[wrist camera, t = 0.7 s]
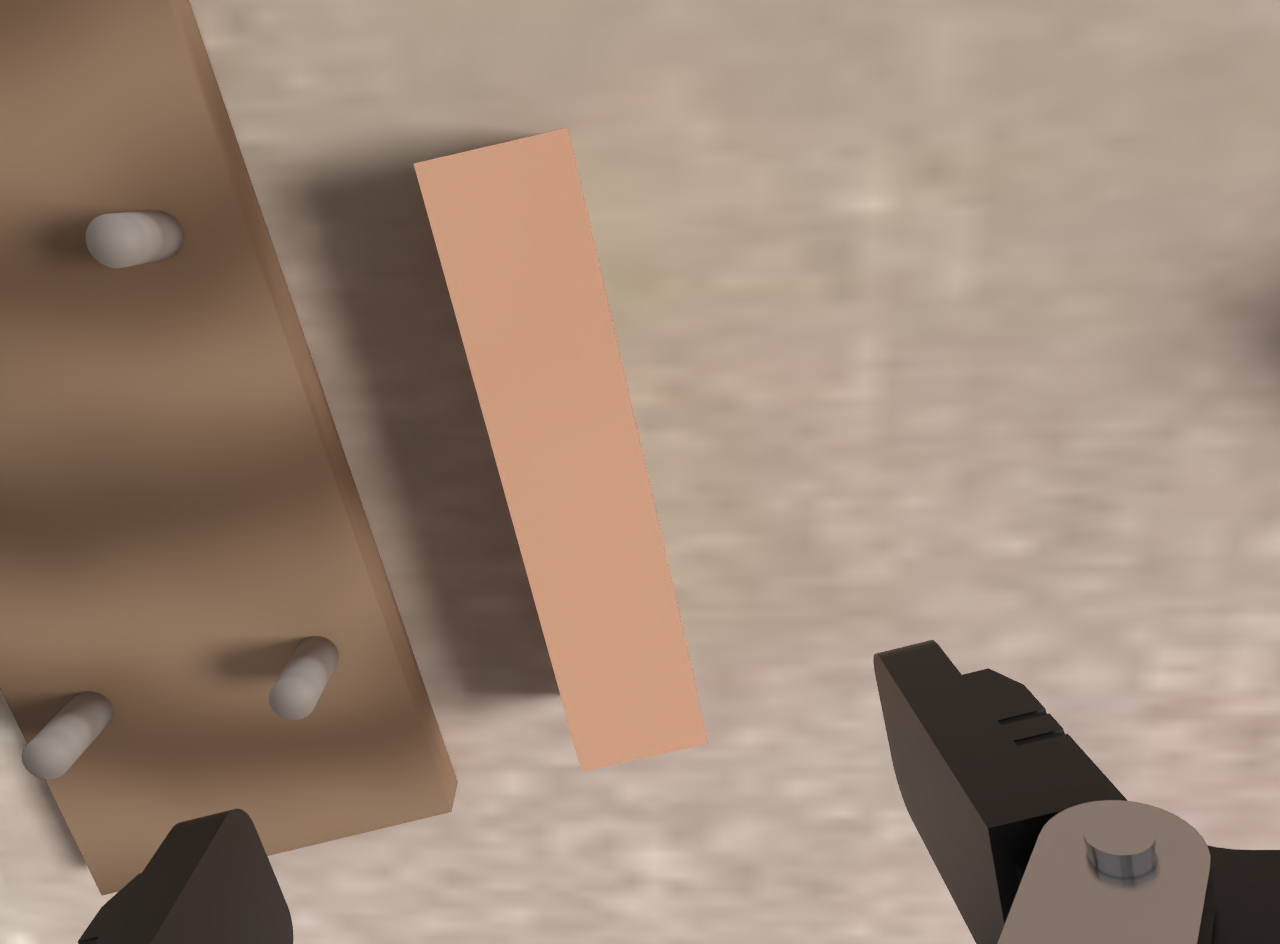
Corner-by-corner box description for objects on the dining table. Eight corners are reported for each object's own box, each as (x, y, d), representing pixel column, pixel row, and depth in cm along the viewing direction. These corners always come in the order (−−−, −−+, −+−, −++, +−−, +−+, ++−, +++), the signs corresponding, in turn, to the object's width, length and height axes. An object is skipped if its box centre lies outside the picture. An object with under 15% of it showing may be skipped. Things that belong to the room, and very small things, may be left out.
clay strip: (442, 165, 26) (413, 163, 22) (570, 135, 26) (566, 127, 22) (582, 688, 31) (581, 771, 26) (691, 664, 31) (708, 743, 26)
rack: (-250, 76, 24) (-405, 58, 21) (177, -34, 24) (100, -73, 20) (123, 862, 31) (59, 957, 28) (457, 782, 31) (439, 867, 27)
